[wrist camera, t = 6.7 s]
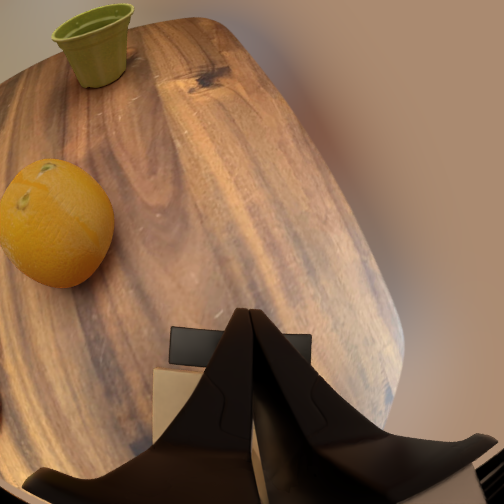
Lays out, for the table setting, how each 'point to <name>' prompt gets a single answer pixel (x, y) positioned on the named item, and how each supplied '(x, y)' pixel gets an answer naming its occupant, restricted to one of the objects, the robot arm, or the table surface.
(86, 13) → the plant pot
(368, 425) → the robot arm
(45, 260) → the fruit
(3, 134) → the table surface
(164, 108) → the table surface
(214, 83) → the table surface
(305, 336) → the lever
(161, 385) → the bracket
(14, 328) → the table surface
